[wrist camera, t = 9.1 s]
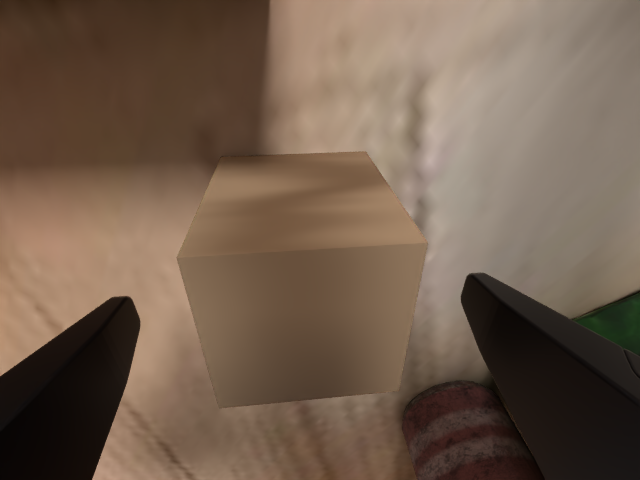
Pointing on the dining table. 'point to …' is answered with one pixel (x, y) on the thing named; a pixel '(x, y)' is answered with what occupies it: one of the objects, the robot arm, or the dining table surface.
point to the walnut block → (301, 278)
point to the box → (617, 323)
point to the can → (465, 436)
